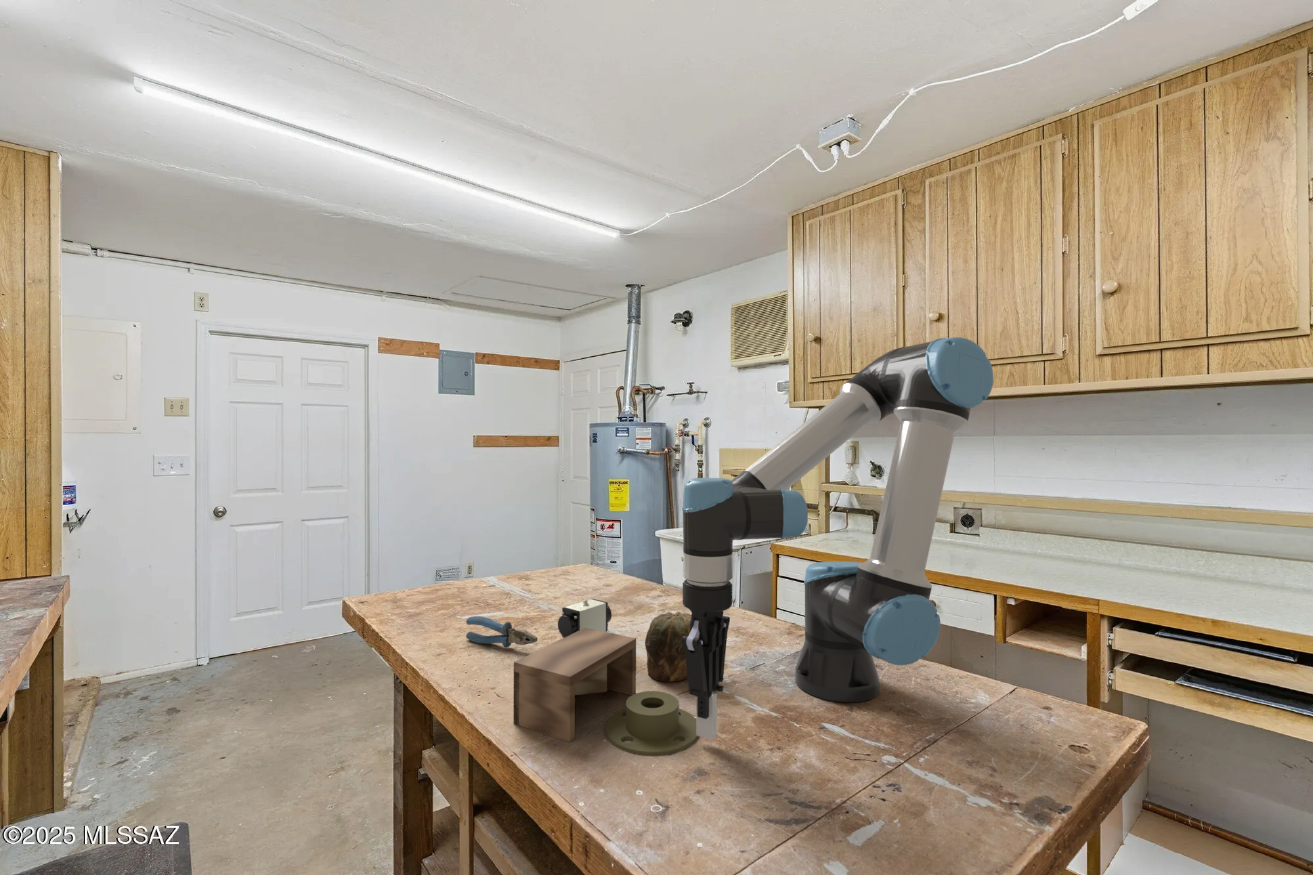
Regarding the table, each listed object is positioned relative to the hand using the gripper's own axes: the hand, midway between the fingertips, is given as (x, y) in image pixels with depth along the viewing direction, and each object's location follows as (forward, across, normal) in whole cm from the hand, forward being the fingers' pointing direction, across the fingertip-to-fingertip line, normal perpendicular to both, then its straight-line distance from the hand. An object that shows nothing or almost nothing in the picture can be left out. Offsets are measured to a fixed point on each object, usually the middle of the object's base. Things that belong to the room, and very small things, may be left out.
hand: (706, 735), depth 88 cm
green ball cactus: (+2, -21, -16) cm, 26 cm away
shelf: (+2, 0, -24) cm, 24 cm away
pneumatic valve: (+2, -20, -37) cm, 42 cm away
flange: (+2, 0, -10) cm, 10 cm away
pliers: (+2, -15, -56) cm, 58 cm away
